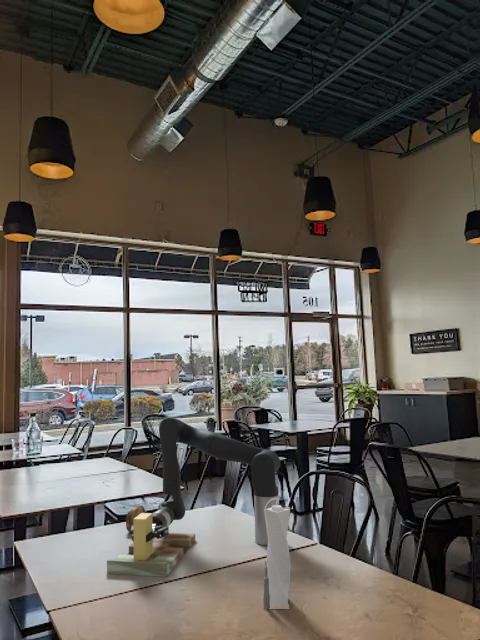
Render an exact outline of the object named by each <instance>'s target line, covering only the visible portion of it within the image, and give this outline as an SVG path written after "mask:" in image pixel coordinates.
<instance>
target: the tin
mask: <svg viewBox="0 0 480 640" xmlns="http://www.w3.org/2000/svg"><path fill="white" fill-rule="evenodd" d="M141 513H146V510H145V507H144V506H143V505H136V506H134V507H133V508H132V509H131V510H129V511H128V512H127V513H126V516H125V524H126V525H125V526H126V531H127V532H129V533H131V527H132V525H134V521H133V519H134V518H135V517H137V516H138V515H139V514H141Z"/></svg>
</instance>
